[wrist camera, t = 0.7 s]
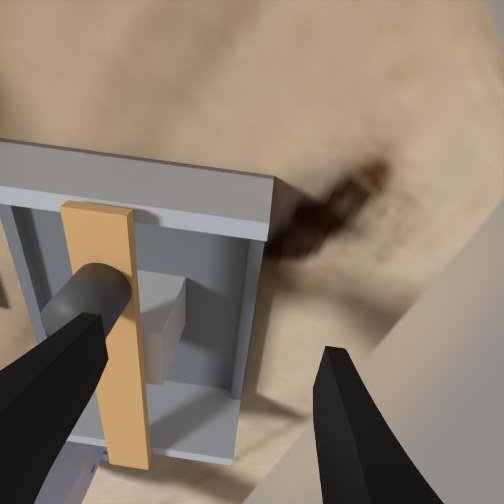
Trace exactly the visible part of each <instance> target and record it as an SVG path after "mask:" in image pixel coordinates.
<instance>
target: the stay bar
mask: <svg viewBox="0 0 504 504" xmlns="http://www.w3.org/2000/svg"><path fill="white" fill-rule="evenodd" d="M60 211H61V216H62V221H63V226H64V231H65V237H66V242H67V247H68V252H69V257H70V262H71V267H72V272H73V276H72V277H71V278H70V279H69V280H68V282H67V283H66V284H65V285H64V286H63V287H62V288H61V289H60V290H59V291H58V292H57V294H56V295H55V296H54V297H53V298H52V299H51V300H50V301H49V302H48V303H47V304H46V306H45V307H44V308H43V309H42V311H41V323H42V325H43V327H44V329H45V330H46V332H47V333H48V334H49V335H50V336H51V335H52V334H53V333H55V332H56V331H57V330H59V329H60V328H61V327H63V326H64V325H66V324H67V323H68V322H70V321H71V320H72V319H74V318H75V317H77V316H78V315H79V314H81V313H82V312H85V313H92V314H99V315H101V316H102V322H103V328H104V334H105V340H106V346H107V352H108V358H109V359H108V362H107V364H106V367H105V369H104V372H103V374H102V376H101V379H100V381H99V383H98V385H97V388H96V396H97V401H98V406H99V411H100V416H101V421H102V426H103V431H104V437H105V442H106V447H107V452H108V457H109V462H110V464H113V465H120V466H126V467H133V468H139V469H146V470H149V466H150V463H151V446H150V433H149V420H148V407H147V393H146V380H145V367H144V353H143V340H142V327H141V314H140V300H139V287H138V274H137V260H136V247H135V234H134V220H133V209H128V208H121V207H114V206H107V205H100V204H93V203H85V202H78V201H71V200H68V201H66V202H65V203H64V204H62V205H61V206H60Z"/></svg>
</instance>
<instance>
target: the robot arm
mask: <svg viewBox="0 0 504 504" xmlns="http://www.w3.org/2000/svg"><path fill="white" fill-rule="evenodd" d="M108 359H109V358H108V352H107V346H106V340H105V334H104V328H103V322H102V316H101V315H99V314H92V313H85V312H82V313H81V314H79V315H78V316H77V317H75V318H74V319H72V320H71V321H70V322H68V323H67V324H66V325H64V326H63V327H61V328H60V329H59V330H57V331H56V332H55V333H53V334H52V335H51V336H49V337H48V338H46V339H45V340H44V341H42V342H41V343H40V344H38V345H37V346H35V347H34V348H33V349H31V350H30V351H28V352H27V353H26V354H24V355H23V356H21V357H20V358H18V359H17V360H16V361H14V362H13V363H11V364H10V365H8V366H7V367H5V368H4V369H2V370H0V504H82V502H83V499H84V497H85V495H86V493H87V490H88V488H89V486H90V484H91V481H92V479H93V477H94V475H95V472H96V470H97V468H98V466H99V463H100V461H101V460H103V461H109V457H108V452H107V447H104V446H97V445H91V444H84V443H78V442H71V441H67V439H68V437H69V435H70V434H71V432H72V430H73V428H74V427H75V425H76V423H77V421H78V420H79V418H80V416H81V415H82V413H83V411H84V409H85V408H86V406H87V404H88V402H89V401H90V399H91V397H92V395H93V393H94V392H95V390H96V388H97V385H98V383H99V381H100V379H101V376H102V374H103V372H104V369H105V367H106V364H107V362H108ZM313 422H314V431H315V440H316V448H317V457H318V465H319V473H320V482H321V490H322V498H323V504H444V503H443V502H442V501H441V499H440V498H439V497H438V496H437V494H436V493H435V492H434V491H433V489H432V488H431V487H430V486H429V484H428V483H427V482H426V480H425V479H424V477H423V476H422V475H421V473H420V472H419V471H418V469H417V468H416V466H415V465H414V464H413V462H412V461H411V460H410V458H409V457H408V455H407V454H406V452H405V451H404V449H403V448H402V446H401V445H400V443H399V442H398V440H397V439H396V437H395V436H394V434H393V432H392V431H391V430H390V428H389V426H388V425H387V423H386V421H385V420H384V418H383V417H382V415H381V413H380V411H379V410H378V408H377V407H376V405H375V403H374V401H373V400H372V398H371V396H370V394H369V392H368V391H367V389H366V387H365V385H364V383H363V381H362V380H361V378H360V376H359V374H358V372H357V370H356V368H355V366H354V364H353V362H352V360H351V358H350V356H349V354H348V352H347V351H346V349H345V348H337V347H330V346H325V350H324V353H323V356H322V360H321V363H320V366H319V370H318V373H317V376H316V380H315V383H314V386H313Z"/></svg>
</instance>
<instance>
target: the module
mask: <svg viewBox="0 0 504 504" xmlns="http://www.w3.org/2000/svg"><path fill="white" fill-rule="evenodd" d="M137 274H138V287H139V300H140V314H141V327H142V340H143V353H144V367H145V380H146V384H150V385H157V386H163V384H164V381H165V379H166V376H167V373H168V370H169V368H170V365H171V362H172V359H173V357H174V354H175V351H176V348H177V346H178V343H179V340H180V337H181V335H182V332H183V329H184V326H185V302H186V277H183V276H176V275H169V274H162V273H155V272H148V271H141V270H137Z"/></svg>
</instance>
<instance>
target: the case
mask: <svg viewBox="0 0 504 504" xmlns="http://www.w3.org/2000/svg"><path fill="white" fill-rule="evenodd" d="M273 183H274V176H270V175H263V174H256V173H248V172H241V171H234V170H226V169H219V168H212V167H205V166H197V165H190V164H183V163H176V162H168V161H161V160H154V159H147V158H139V157H132V156H125V155H118V154H110V153H103V152H96V151H88V150H81V149H74V148H67V147H59V146H52V145H45V144H38V143H30V142H23V141H16V140H9V139H1V138H0V218H1V221H2V224H3V228H4V231H5V234H6V238H7V241H8V245H9V248H10V251H11V255H12V258H13V261H14V265H15V268H16V271H17V275H18V278H19V281H20V285H21V288H22V292H23V295H24V298H25V302H26V305H27V308H28V312H29V315H30V318H31V322H32V325H33V329H34V332H35V335H36V339H37V342H38V344H40V343H41V342H42V341H44V340H45V339H46V338H48V337H49V336H50V335H49V334H48V333H47V332H46V330H45V329H44V327H43V325H42V323H41V311H42V309H43V308H44V307H45V306H46V304H47V303H48V302H49V301H50V300H51V299H52V298H53V297H54V296H55V295H56V294H57V292H58V291H59V290H60V289H61V288H62V287H63V286H64V285H65V284H66V283H67V282H68V280H69V279H70V278H71V277H72V276H73V272H72V267H71V262H70V257H69V252H68V247H67V242H66V237H65V231H64V226H63V221H62V216H61V211H60V206H61V205H62V204H64V203H65V202H66V201H68V200H71V201H78V202H85V203H93V204H100V205H107V206H114V207H121V208H128V209H133V220H134V234H135V247H136V260H137V270H141V271H148V272H155V273H162V274H169V275H176V276H183V277H186V302H185V326H184V329H183V332H182V335H181V337H180V340H179V343H178V346H177V348H176V351H175V354H174V357H173V359H172V362H171V365H170V368H169V370H168V373H167V376H166V379H165V381H164V384H163V386H157V385H150V384H146V393H147V407H148V420H149V433H150V446H151V454H157V455H163V456H170V457H176V458H183V459H190V460H196V461H203V462H209V463H216V464H222V465H229V466H232V463H233V456H234V448H235V440H236V433H237V425H238V417H239V410H240V402H241V395H242V389H243V382H244V375H245V369H246V362H247V355H248V349H249V342H250V336H251V329H252V322H253V316H254V309H255V302H256V296H257V289H258V282H259V276H260V269H261V263H262V256H263V249H264V243H265V241H267V236H268V229H269V222H270V212H271V202H272V192H273ZM67 441H71V442H78V443H84V444H91V445H97V446H104V447H106V442H105V437H104V431H103V426H102V421H101V416H100V411H99V406H98V401H97V396H96V390H95V392H94V393H93V395H92V397H91V399H90V401H89V402H88V404H87V406H86V408H85V409H84V411H83V413H82V415H81V416H80V418H79V420H78V421H77V423H76V425H75V427H74V428H73V430H72V432H71V434H70V435H69V437H68V439H67Z"/></svg>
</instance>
